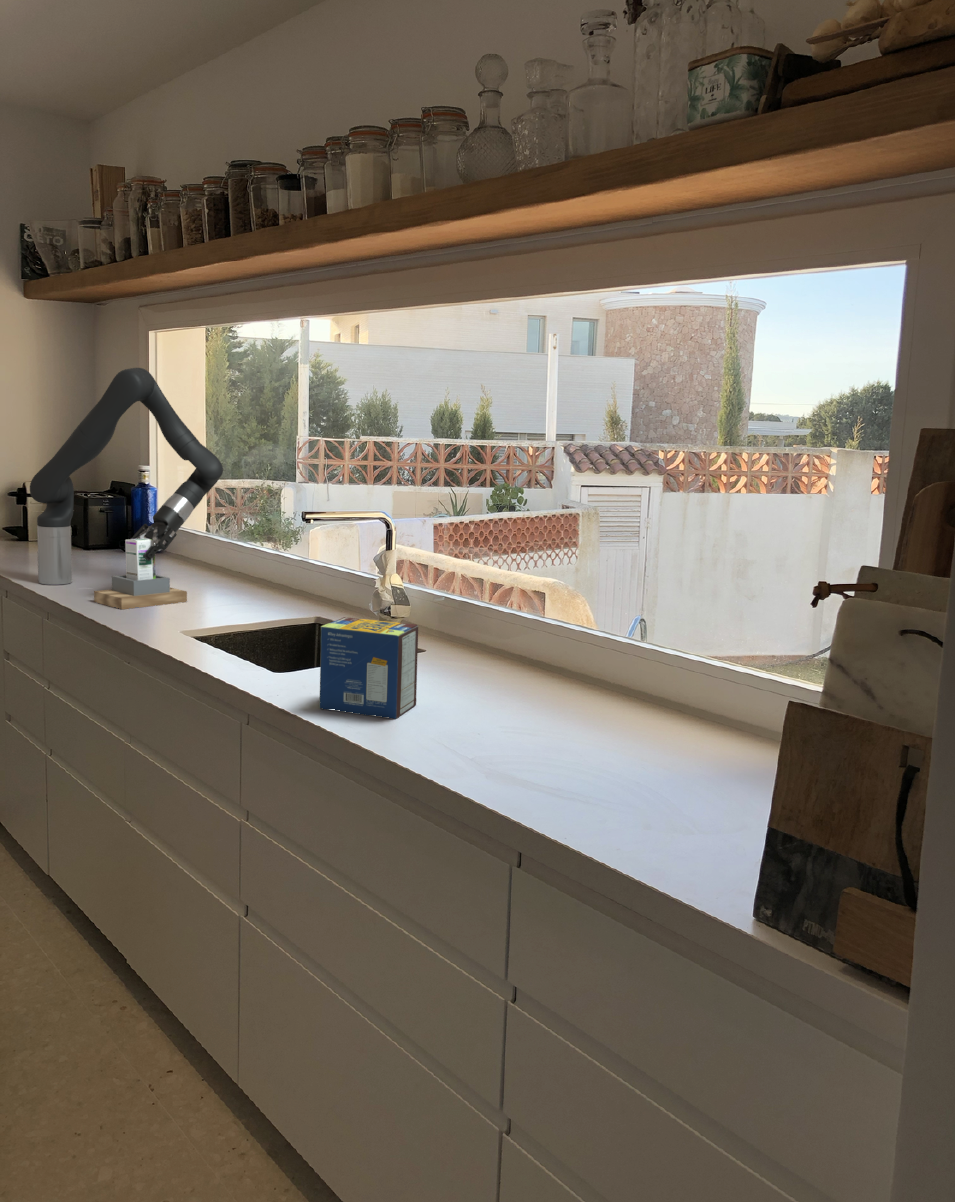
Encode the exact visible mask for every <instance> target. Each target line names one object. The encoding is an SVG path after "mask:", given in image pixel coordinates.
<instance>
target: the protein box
mask: <svg viewBox="0 0 955 1202" xmlns="http://www.w3.org/2000/svg"><path fill="white" fill-rule="evenodd" d="M418 647H419V624H416V623H405V622H396V621H395V622H394V621H385V620H384V621H383V620H377V619H367V618H365V619H363V618H355V617H349V616H348V617H346V616H345V617H344V616H343V617H341V618H339V619H336V620H334V621H331V622H328V623H326V624H323V625H321V626H320V664H319V666H320V667H319V670H320V671H319V701H318V702H319V703H318V704H319V705H318V706H319V707H318V709H319V708H323V709H322V710H324V709H335V710H340V711H346V712H353V713H360V714H359V715H361V714H364V715H363V716H368V715H376V716H382V717H381V718H383V717H389V718H388V719H390V718H394V719H393V720H396V718H397V719H398V718H399V716H400V717H401V716H402V715H404V714H405V713H407V712H408V711H409V710H411V709H413V707H415V706H416V705H417V685H418V684H417V683H418V655H419V654H418V650H419V648H418ZM346 712H345V713H346ZM353 713H352V714H353ZM365 714H366V715H365Z"/></svg>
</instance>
